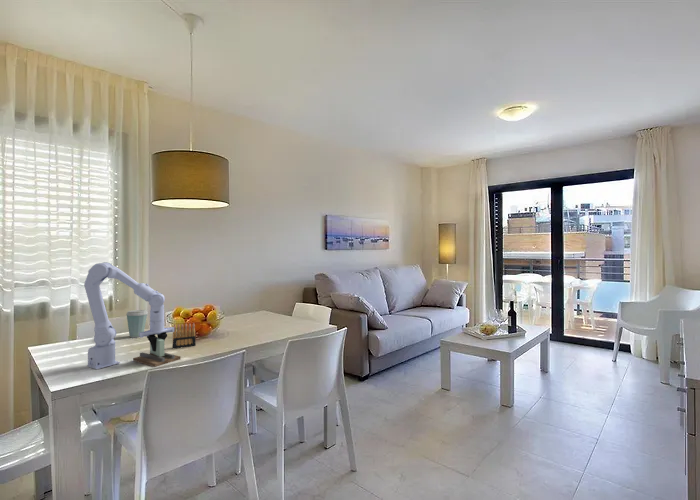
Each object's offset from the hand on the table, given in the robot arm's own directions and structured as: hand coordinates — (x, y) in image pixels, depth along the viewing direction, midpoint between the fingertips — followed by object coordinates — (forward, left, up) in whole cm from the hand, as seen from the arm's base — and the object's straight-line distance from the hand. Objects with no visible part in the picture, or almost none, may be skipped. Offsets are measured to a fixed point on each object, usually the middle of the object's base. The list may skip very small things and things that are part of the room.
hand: (157, 350), depth 164 cm
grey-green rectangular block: (0, 0, -2) cm, 2 cm away
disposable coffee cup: (+20, +48, -4) cm, 52 cm away
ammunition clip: (+20, +8, -5) cm, 22 cm away
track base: (0, 0, -4) cm, 4 cm away
